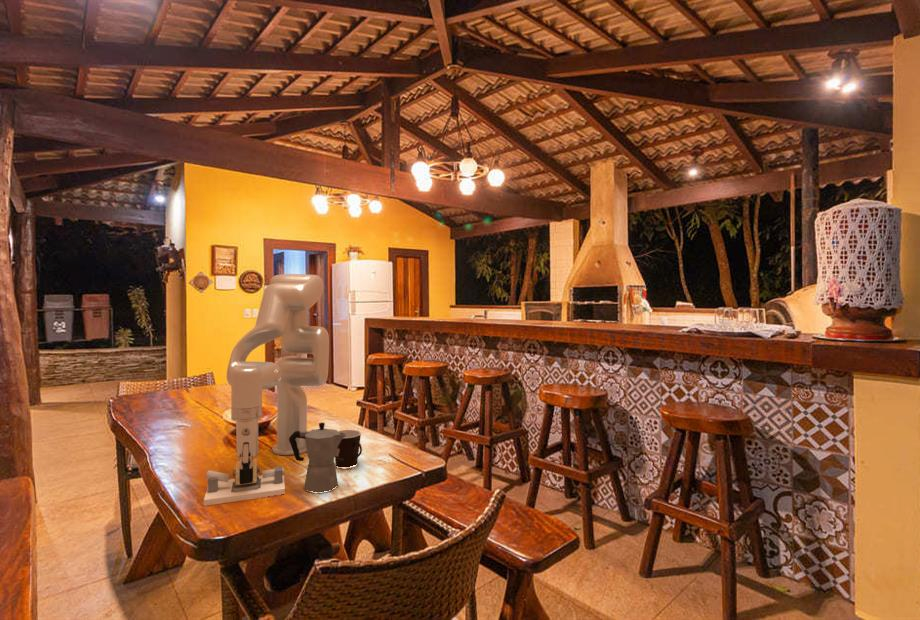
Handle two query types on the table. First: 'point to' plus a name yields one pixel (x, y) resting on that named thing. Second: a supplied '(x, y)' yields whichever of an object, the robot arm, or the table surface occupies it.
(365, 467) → the table surface
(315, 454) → the coffeepot
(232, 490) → the shaft frame
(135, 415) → the table surface
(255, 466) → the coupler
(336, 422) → the table surface
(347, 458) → the coffee mug
